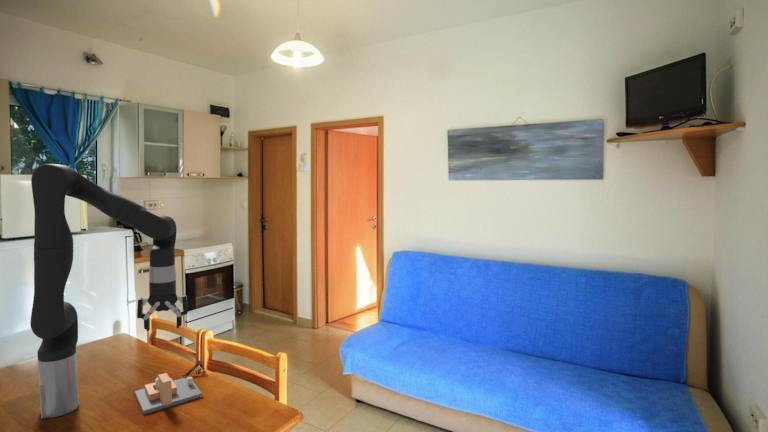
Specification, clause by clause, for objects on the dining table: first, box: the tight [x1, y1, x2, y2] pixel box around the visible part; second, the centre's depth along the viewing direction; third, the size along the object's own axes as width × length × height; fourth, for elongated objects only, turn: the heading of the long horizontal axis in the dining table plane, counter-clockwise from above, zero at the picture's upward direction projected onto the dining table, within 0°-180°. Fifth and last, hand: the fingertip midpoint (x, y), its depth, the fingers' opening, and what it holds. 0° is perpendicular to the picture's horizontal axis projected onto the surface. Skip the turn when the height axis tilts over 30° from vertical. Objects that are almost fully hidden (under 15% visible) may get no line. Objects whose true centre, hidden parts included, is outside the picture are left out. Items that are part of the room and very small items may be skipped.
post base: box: [134, 375, 203, 415], centre depth 139 cm, size 17×15×6 cm
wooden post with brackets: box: [182, 359, 205, 378], centre depth 155 cm, size 2×8×4 cm, turn 147°
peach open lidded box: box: [144, 372, 177, 406], centre depth 136 cm, size 14×8×8 cm, turn 39°
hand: (163, 328), depth 135 cm, fingers open, 8 cm apart
